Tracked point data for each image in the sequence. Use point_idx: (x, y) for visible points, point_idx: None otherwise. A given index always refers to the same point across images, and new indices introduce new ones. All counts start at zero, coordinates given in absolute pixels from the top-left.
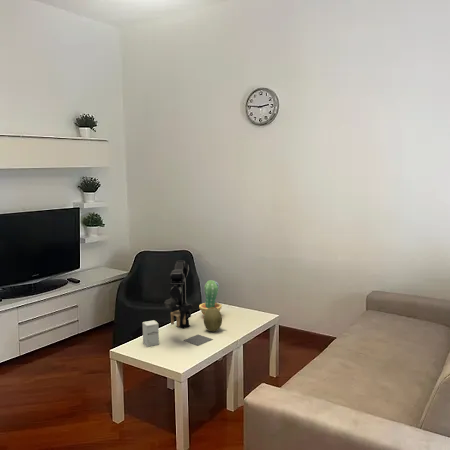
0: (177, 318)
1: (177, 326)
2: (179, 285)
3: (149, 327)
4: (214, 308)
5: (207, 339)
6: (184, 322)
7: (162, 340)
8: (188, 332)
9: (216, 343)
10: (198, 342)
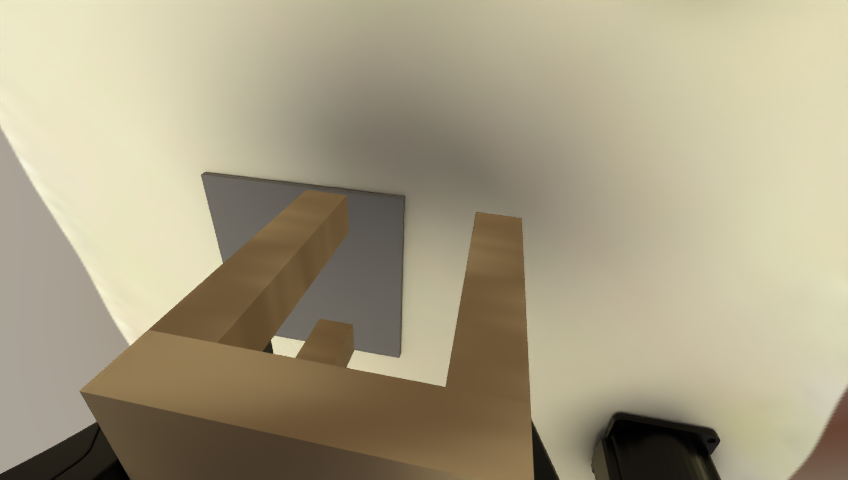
0: (205, 291)
1: (700, 429)
2: None
3: None
4: None
5: None
6: (305, 346)
7: (637, 62)
8: None
9: (165, 284)
10: (251, 225)
